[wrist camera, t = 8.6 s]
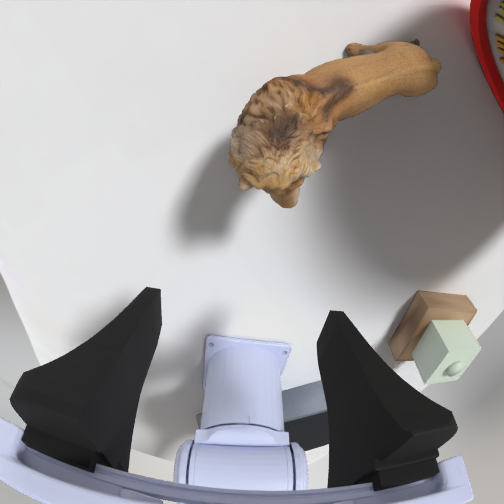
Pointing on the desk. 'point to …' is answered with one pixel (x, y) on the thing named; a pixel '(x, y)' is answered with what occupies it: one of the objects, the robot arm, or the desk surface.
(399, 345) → the base brick
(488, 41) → the toy clock
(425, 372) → the sage brick
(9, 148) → the desk surface
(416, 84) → the lion figurine
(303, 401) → the external hard drive
